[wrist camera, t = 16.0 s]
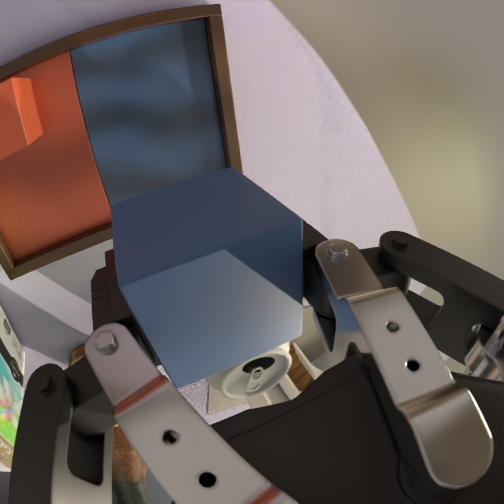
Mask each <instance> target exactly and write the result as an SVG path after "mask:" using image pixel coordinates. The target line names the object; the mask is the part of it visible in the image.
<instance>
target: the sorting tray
mask: <svg viewBox="0 0 504 504" xmlns="http://www.w3.org/2000/svg"><path fill="white" fill-rule="evenodd" d="M221 15H222V12H221V5H220V4H212V5H201V6H192V7H184V8H177V9H170V10H164V11H158V12H153V13H148V14H143V15H138V16H134V17H130V18H126V19H121V20H118V21H114V22H110V23H107V24H103V25H100V26H96V27H93V28H90V29H87V30H84V31H81V32H78V33H75V34H72V35H70V36H67V37H64V38H62V39H59V40H56V41H54V42H51V43H49V44H47V45H44V46H42V47H40V48H37V49H35V50H33V51H31V52H29V53H26V54H24V55H22V56H20V57H18V58H16V59H14V60H12V61H10V62H8V63H7V64H5V65H3V66H1V67H0V83H2V82H4V81H6V80H7V79H9V78H11V77H16V78H30V80H31V85H32V90H33V94H34V99H35V103H36V107H37V111H38V115H39V119H40V123H41V126H42V130H43V134H42V135H41V136H39V137H38V138H37V139H36V140H34V141H33V142H32V143H31V144H29V145H28V146H26V147H24V148H22V149H20V150H18V151H16V152H14V153H12V154H10V155H9V156H7V157H5V158H3V159H1V160H0V264H1V266H2V267H3V269H4V271H5V272H6V274H7V276H8V277H9V279H10V280H13V279H15V278H18V277H20V276H22V275H24V274H27V273H29V272H31V271H33V270H36V269H38V268H40V267H43V266H45V265H47V264H50V263H52V262H55V261H57V260H59V259H62V258H64V257H67V256H69V255H72V254H74V253H76V252H79V251H81V250H84V249H86V248H89V247H92V246H94V245H97V244H99V243H102V242H104V241H107V240H110V239H112V238H113V234H112V221H111V205H113V204H116V203H119V202H122V201H124V200H127V199H130V198H133V197H136V196H139V195H142V194H145V193H147V192H150V191H153V190H156V189H159V188H163V187H166V186H169V185H172V184H175V183H178V182H181V181H185V180H188V179H191V178H195V177H198V176H201V175H205V174H208V173H212V172H215V171H219V170H222V169H226V168H230V167H233V168H235V169H236V170H238V171H239V172H240V173H242V174H243V168H242V161H241V153H240V146H239V138H238V131H237V123H236V116H235V108H234V101H233V93H232V86H231V79H230V71H229V64H228V56H227V49H226V42H225V34H224V27H223V20H222V16H221Z"/></svg>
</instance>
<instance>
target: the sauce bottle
mask: <svg viewBox="0 0 504 504" xmlns="http://www.w3.org/2000/svg"><path fill="white" fill-rule="evenodd" d="M84 349H85V345H83V346H80V347H78V348H76V349H75V350H74V351H73V352H72V353H71V355H70V358H69V367H70V366H71V365H73V364H74V363H75V362H77V361H78V360H80V359H81V358H82V357H83V356H84V355H85V351H84ZM146 470H147V467H146V465H145V464H144V462H143V461H142V460H141V458H140V457H139V455H138V454H137V453H136V451H135V450H134V448H133V447H132V445H131V444H130V442H129V441H128V439H127V438H126V436H125V435H124V433H123V431H122V430H121V428H120V427H119V425H118V423H117V424H116V425H114V426H113V445H112V504H153V503H152V500H151V498H150V495H149V493H148V488H147V486H146V484H145V475H146Z"/></svg>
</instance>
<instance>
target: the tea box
mask: <svg viewBox="0 0 504 504" xmlns="http://www.w3.org/2000/svg"><path fill="white" fill-rule="evenodd" d="M24 360H25V352H24V350H23V349H22V347H21V345H20V342H19V341H18V339H17V337H16V335H15V333H14V331H13V330H12V328H11V326H10V324H9V321H8V319H7V317H6V315H5V313H4V311H3V309H2V307H1V305H0V471H11V465H12V457H13V450H14V443H15V437H16V432H17V426H18V421H19V416H20V412H21V407H22V403H23V375H24Z"/></svg>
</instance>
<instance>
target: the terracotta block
mask: <svg viewBox="0 0 504 504" xmlns="http://www.w3.org/2000/svg"><path fill="white" fill-rule="evenodd" d="M42 134H43V130H42V126H41V123H40V119H39V115H38V111H37V107H36V103H35V99H34V94H33V90H32V85H31V80H30V78H16V77H11V78H9V79H7V80H6V81H4V82H2V83H0V160H1V159H3V158H5V157H7V156H9V155H10V154H12V153H14V152H16V151H18V150H20V149H22V148H24V147H26V146H28V145H29V144H31V143H32V142H33V141H34V140H36V139H37V138H38V137H39V136H41V135H42Z"/></svg>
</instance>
